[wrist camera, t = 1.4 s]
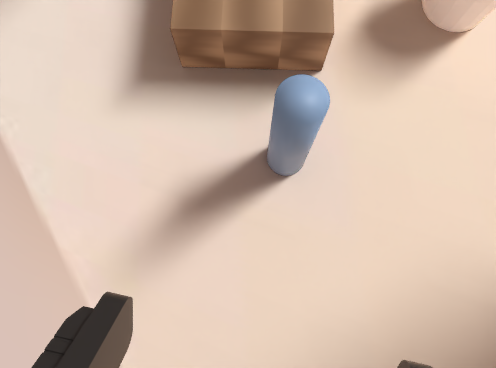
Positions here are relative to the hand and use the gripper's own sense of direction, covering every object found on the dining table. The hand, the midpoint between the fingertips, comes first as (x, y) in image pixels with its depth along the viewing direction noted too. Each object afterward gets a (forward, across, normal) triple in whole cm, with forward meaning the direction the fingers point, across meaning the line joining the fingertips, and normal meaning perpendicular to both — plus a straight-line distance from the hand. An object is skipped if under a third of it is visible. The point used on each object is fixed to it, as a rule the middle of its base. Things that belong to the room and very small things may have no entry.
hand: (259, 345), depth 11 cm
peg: (+20, 0, +3) cm, 20 cm away
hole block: (+29, +5, -6) cm, 30 cm away
